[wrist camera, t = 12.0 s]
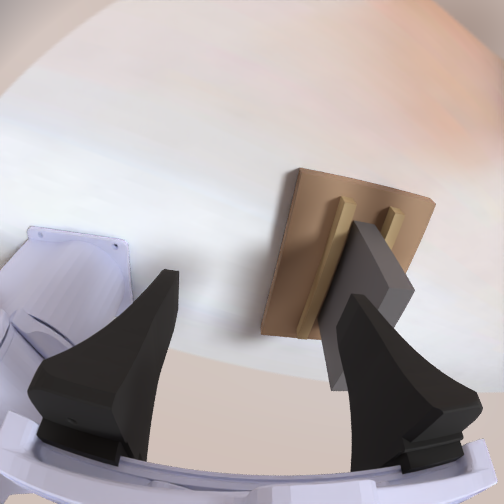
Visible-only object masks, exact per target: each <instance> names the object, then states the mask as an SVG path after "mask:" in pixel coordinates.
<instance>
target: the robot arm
mask: <svg viewBox="0 0 504 504" xmlns="http://www.w3.org/2000/svg"><path fill="white" fill-rule="evenodd" d="M41 233H42V235H41ZM27 234H28V238H29V239H28V240H27V241H26V242H25V243H24V244H23V246H22V247H21V248H20V249H19V250H18V251H17V252H16V253H15V254H14V255H13V256H12V257H11V259H10V260H9V261H8V262H7V263H6V264H5V265H4V267H3V268H2V269H1V270H0V504H4V502H5V501H6V499H7V498H8V496H9V495H12V494H29V493H35V494H37V495H39V496H41V497H43V498H46V499H48V500H50V501H53V502H55V503H57V504H459V503H461V502H464V501H465V500H467V499H469V498H471V497H473V496H475V495H477V494H479V493H481V492H482V491H484V490H486V489H487V488H489V487H491V486H493V485H495V484H496V483H497V482H498V481H497V477H496V474H495V470H494V467H493V464H492V461H491V458H490V455H489V452H488V449H487V446H486V443H485V440H484V439H479V440H476V441H473V442H469V443H467V444H465V445H463V446H461V443H460V440H462V439H463V434H462V431H463V430H464V429H465V428H467V427H468V426H469V425H470V424H471V423H472V422H473V421H475V420H476V419H477V418H478V416H479V415H480V414H481V412H482V409H483V407H482V404H481V402H480V399H479V397H478V395H477V392H475V391H473V390H471V389H469V388H468V387H466V386H464V385H462V384H460V383H458V382H457V381H455V380H453V379H452V378H450V377H449V376H447V375H446V374H444V373H443V372H441V371H440V370H438V369H437V368H436V367H434V366H433V365H432V364H431V363H429V362H428V361H427V360H426V359H424V358H423V357H422V356H421V355H420V354H419V353H418V352H416V351H415V350H414V349H413V348H412V347H411V346H410V345H409V344H408V343H407V342H406V341H405V340H404V339H403V338H402V337H401V336H400V335H399V334H398V333H397V331H396V330H395V329H394V328H393V327H392V326H391V325H390V324H389V322H388V321H387V320H386V319H385V318H384V317H383V316H382V314H381V313H380V312H379V311H378V310H377V309H376V307H375V306H374V305H373V304H372V303H371V302H370V301H369V300H368V298H367V297H366V296H365V295H362V294H353V293H351V295H350V297H349V299H348V302H347V304H346V306H345V308H344V311H343V313H342V315H341V317H340V319H339V321H338V324H337V326H336V333H337V343H338V350H339V354H340V358H341V363H342V367H343V371H344V375H345V380H346V384H347V388H348V393H349V401H350V412H351V429H352V456H351V472H348V473H336V474H321V475H297V476H269V475H243V474H229V473H218V472H208V471H199V470H192V469H184V468H178V467H172V466H166V465H160V464H155V463H150V462H147V452H148V443H149V435H150V427H151V420H152V413H153V407H154V401H155V395H156V390H157V384H158V380H159V376H160V372H161V369H162V366H163V363H164V360H165V356H166V353H167V350H168V347H169V344H170V341H171V338H172V334H173V331H174V327H175V322H176V317H177V312H178V294H179V271H174V270H167V269H164V270H162V271H161V273H160V274H159V275H158V276H157V277H156V279H155V280H154V281H153V282H152V283H151V284H150V285H149V287H148V288H147V289H146V290H145V291H144V292H143V293H142V294H141V295H140V296H139V297H138V298H137V299H136V300H135V301H134V302H133V296H132V286H131V274H130V261H129V246H128V243H127V242H126V241H125V240H123V239H116V238H109V237H102V236H95V235H88V234H82V233H75V232H68V231H61V230H54V229H47V228H41V227H34V226H31V227H29V228H28V230H27ZM114 244H116V245H117V246H118V247H116V246H114ZM122 312H123V313H122ZM115 317H117V318H115ZM114 318H115V319H114Z"/></svg>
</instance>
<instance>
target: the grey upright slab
mask: <svg viewBox="0 0 504 504" xmlns="http://www.w3.org/2000/svg"><path fill="white" fill-rule="evenodd" d="M414 291H415V290H414V288H413V286H412V284H411V283H410V281H409V279H408V277H407V276H406V274H405V272H404V271H403V269H402V267H401V266H400V264H399V262H398V261H397V259H396V257H395V256H394V254H393V252H392V251H391V249H390V248H389V246H388V244H387V243H386V241H385V240H384V238H383V236H382V235H381V233H380V232H379V230H378V229H377V227H376V226H375V224H370V223H365V222H360V221H353V224H352V227H351V230H350V233H349V235H348V238H347V241H346V244H345V247H344V250H343V253H342V255H341V258H340V261H339V264H338V266H337V269H336V272H335V274H334V277H333V280H332V282H331V285H330V288H329V290H328V293H327V295H326V298H325V300H324V303H323V306H322V308H321V311H320V313H319V315H318V318H317V320H318V325H319V330H320V335H321V340H322V345H323V350H324V356H325V361H326V366H327V372H328V377H329V383H330V388H331V391H348V388H347V384H346V380H345V375H344V371H343V367H342V363H341V358H340V354H339V350H338V343H337V333H336V326H337V324H338V321H339V319H340V317H341V315H342V313H343V311H344V308H345V306H346V304H347V302H348V299H349V297H350V295H351V293H353V294H362V295H365V296H366V297H367V298H368V300H369V301H370V302H371V303H372V304H373V305H374V306H375V307H376V309H377V310H378V311H379V312H380V313H381V314H382V316H383V317H384V318H385V319H386V320H387V321H388V322H389V324H390V325H391V326H392V327H393V328H394V327H395V325H396V323H397V322H398V320H399V318H400V317H401V315H402V313H403V311H404V310H405V308H406V306H407V304H408V302H409V301H410V299H411V297H412V295H413V293H414Z"/></svg>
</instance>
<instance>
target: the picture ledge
mask: <svg viewBox="0 0 504 504" xmlns="http://www.w3.org/2000/svg"><path fill="white" fill-rule="evenodd" d="M435 205H436V204H435V203H434V202H433V201H432V200H431V199H430V198H428V197H424V196H420V195H417V194H413V193H409V192H406V191H402V190H398V189H394V188H390V187H386V186H382V185H378V184H374V183H370V182H366V181H361V180H357V179H352V178H348V177H343V176H339V175H334V174H329V173H324V172H319V171H314V170H309V169H304V168H300V169H299V173H298V178H297V182H296V186H295V190H294V195H293V199H292V203H291V207H290V211H289V216H288V220H287V224H286V228H285V232H284V236H283V240H282V244H281V248H280V252H279V256H278V260H277V264H276V268H275V272H274V276H273V280H272V284H271V288H270V292H269V296H268V300H267V304H266V307H265V311H264V315H263V319H262V323H261V335H270V336H281V337H291V338H297V339H316V340H321V335H320V330H319V325H318V320H317V318H318V315H319V313H320V311H321V308H322V306H323V303H324V300H325V298H326V295H327V293H328V290H329V288H330V285H331V282H332V280H333V277H334V274H335V272H336V269H337V266H338V264H339V261H340V258H341V255H342V253H343V250H344V247H345V244H346V241H347V238H348V235H349V233H350V230H351V227H352V224H353V221H360V222H365V223H370V224H375V226H376V227H377V229H378V230H379V232H380V233H381V235H382V236H383V238H384V240H385V241H386V243H387V244H388V246H389V248H390V249H391V251H392V252H393V254H394V256H395V257H396V259H397V261H398V262H399V264H400V266H401V267H402V269H403V271H404V272H405V274H406V272H407V270H408V267H409V265H410V263H411V261H412V259H413V257H414V255H415V252H416V250H417V248H418V246H419V244H420V241H421V239H422V237H423V234H424V232H425V230H426V227H427V225H428V223H429V220H430V218H431V215H432V213H433V210H434V208H435Z"/></svg>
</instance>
